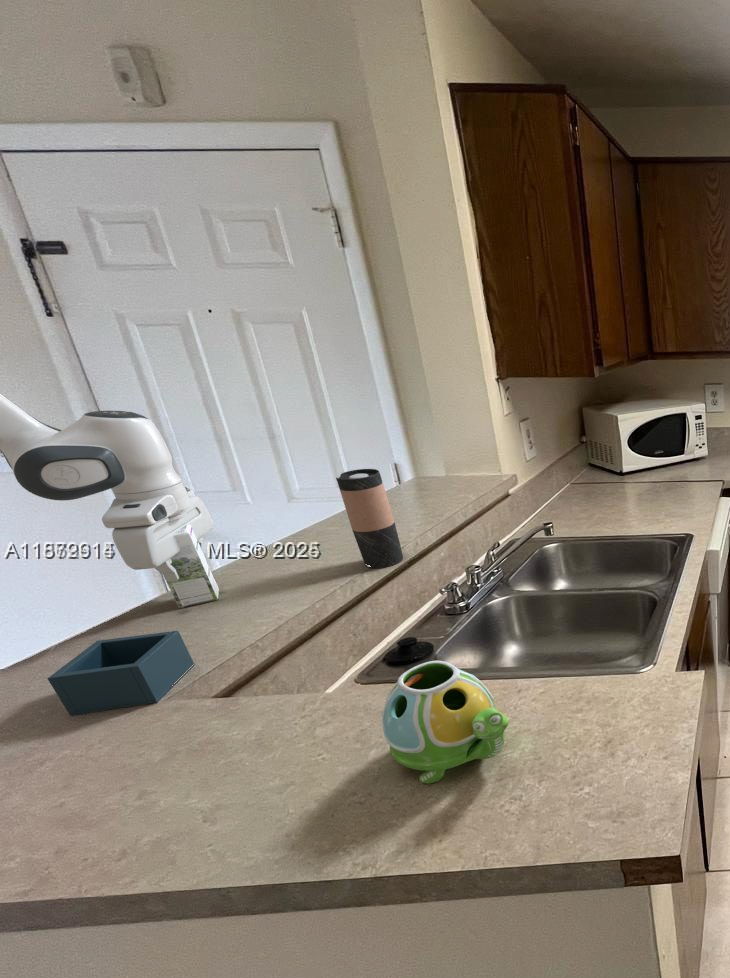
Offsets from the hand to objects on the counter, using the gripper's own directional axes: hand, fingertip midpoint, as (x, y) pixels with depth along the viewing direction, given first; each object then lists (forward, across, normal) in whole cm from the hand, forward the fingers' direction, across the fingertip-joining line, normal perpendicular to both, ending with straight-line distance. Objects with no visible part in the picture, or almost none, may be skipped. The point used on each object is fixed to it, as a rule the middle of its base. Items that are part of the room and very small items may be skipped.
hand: (187, 570), depth 115 cm
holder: (+6, +31, +6) cm, 32 cm away
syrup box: (+6, 0, 0) cm, 6 cm away
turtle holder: (+6, +60, +55) cm, 82 cm away
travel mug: (+6, -9, +29) cm, 31 cm away
